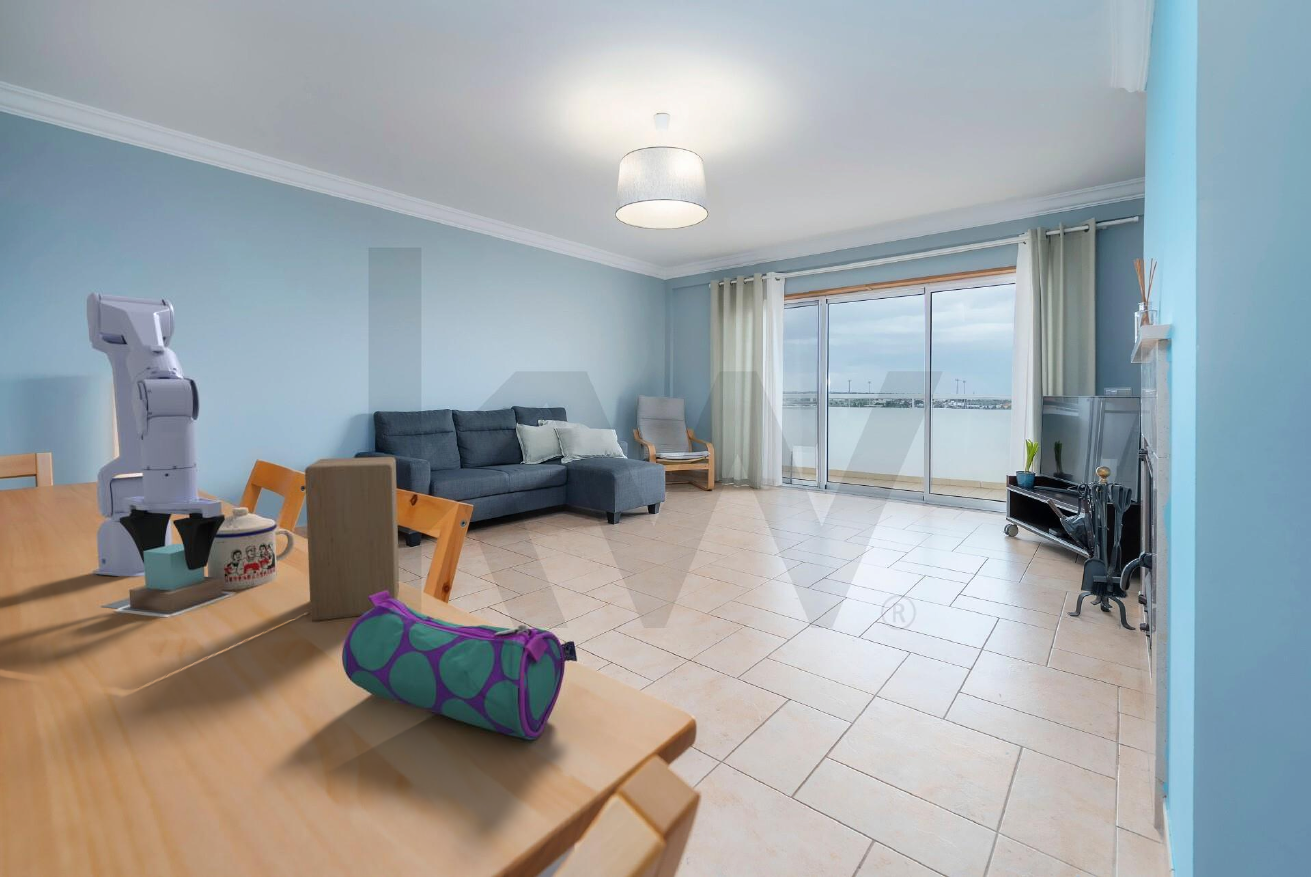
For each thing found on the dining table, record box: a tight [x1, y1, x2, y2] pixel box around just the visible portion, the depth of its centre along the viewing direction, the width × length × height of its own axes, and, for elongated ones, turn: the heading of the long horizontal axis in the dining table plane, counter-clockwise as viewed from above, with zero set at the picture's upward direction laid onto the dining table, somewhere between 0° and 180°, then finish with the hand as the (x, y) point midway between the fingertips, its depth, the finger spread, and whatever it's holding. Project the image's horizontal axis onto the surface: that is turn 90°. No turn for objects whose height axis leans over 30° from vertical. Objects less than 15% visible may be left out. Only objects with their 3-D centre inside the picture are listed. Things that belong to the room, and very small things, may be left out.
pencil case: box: [341, 590, 578, 741], centre depth 55 cm, size 21×9×10 cm, turn 68°
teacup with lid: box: [207, 506, 295, 591], centre depth 92 cm, size 12×9×12 cm
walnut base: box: [128, 576, 223, 613], centre depth 82 cm, size 7×7×2 cm
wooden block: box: [304, 456, 400, 621], centre depth 81 cm, size 10×10×20 cm
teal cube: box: [144, 542, 206, 591], centre depth 81 cm, size 4×4×5 cm
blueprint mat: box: [100, 590, 237, 619], centre depth 82 cm, size 13×10×1 cm
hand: (175, 565), depth 81 cm, fingers open, 7 cm apart
